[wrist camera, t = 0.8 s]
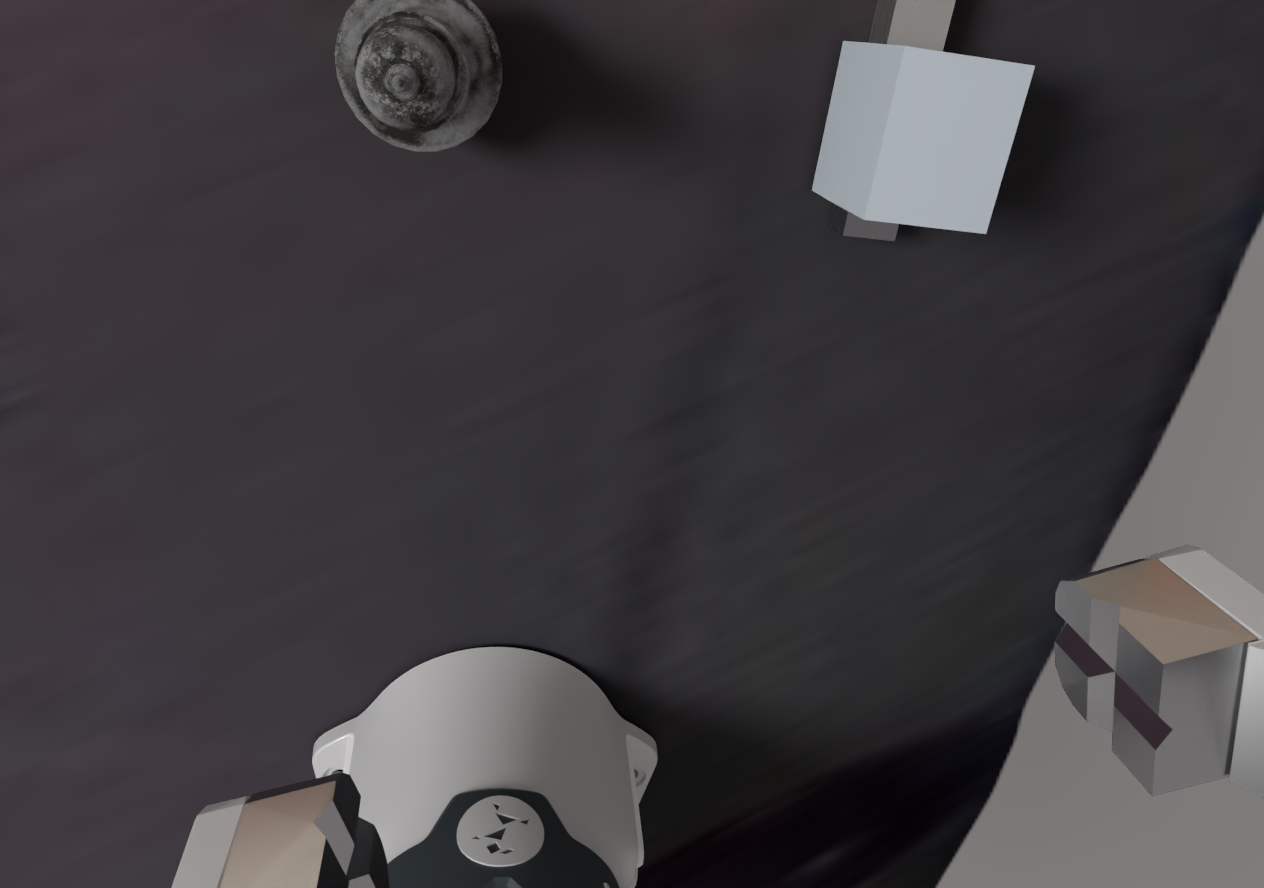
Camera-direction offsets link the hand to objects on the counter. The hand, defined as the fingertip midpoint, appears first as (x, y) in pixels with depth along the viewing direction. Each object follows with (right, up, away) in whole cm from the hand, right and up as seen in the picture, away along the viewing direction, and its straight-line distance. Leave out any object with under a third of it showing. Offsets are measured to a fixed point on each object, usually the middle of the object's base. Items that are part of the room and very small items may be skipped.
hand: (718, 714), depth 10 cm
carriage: (+10, +17, +29) cm, 35 cm away
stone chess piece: (-9, +18, +26) cm, 33 cm away
